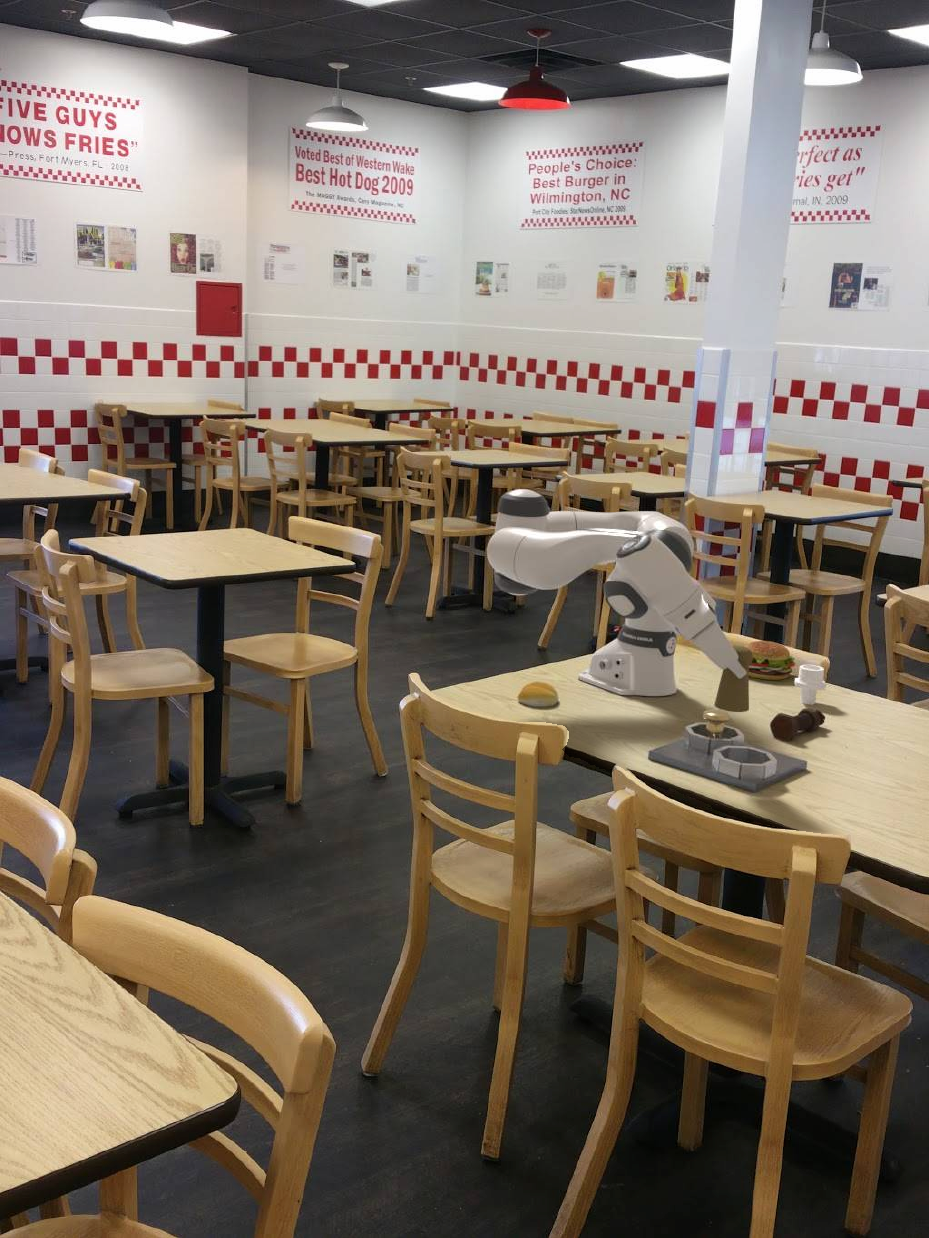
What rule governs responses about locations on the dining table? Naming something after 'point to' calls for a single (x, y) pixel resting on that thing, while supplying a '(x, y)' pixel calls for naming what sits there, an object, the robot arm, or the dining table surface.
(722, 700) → the cork
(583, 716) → the dining table surface
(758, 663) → the food
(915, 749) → the dining table surface
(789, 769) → the bolt plate
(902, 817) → the dining table surface
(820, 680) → the pipe fitting
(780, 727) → the bolt
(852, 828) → the dining table surface
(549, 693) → the bread roll
